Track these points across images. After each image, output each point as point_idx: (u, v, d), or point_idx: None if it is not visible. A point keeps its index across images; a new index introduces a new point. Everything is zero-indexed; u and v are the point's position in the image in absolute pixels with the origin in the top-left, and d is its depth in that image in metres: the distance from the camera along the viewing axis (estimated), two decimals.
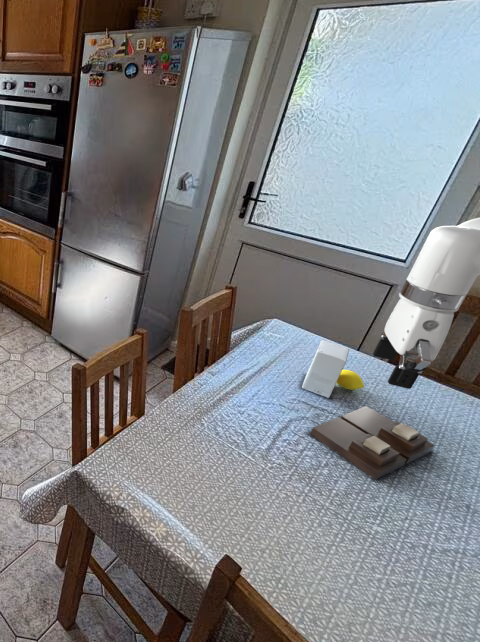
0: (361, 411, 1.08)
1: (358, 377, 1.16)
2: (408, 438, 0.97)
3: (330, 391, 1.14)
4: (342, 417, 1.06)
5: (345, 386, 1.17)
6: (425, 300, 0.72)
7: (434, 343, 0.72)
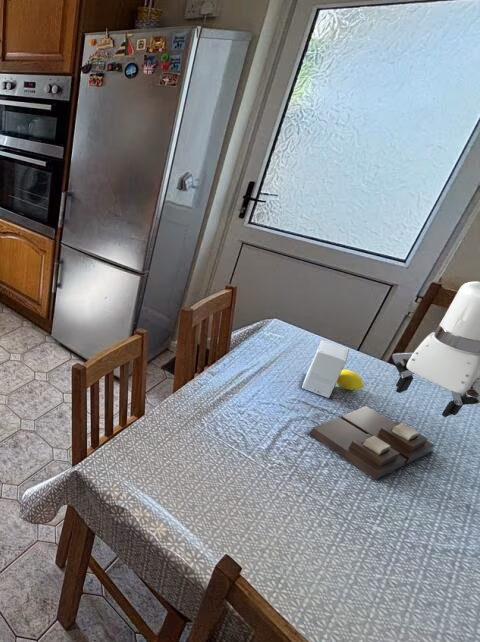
0: (361, 411, 1.08)
1: (358, 377, 1.16)
2: (408, 438, 0.97)
3: (330, 391, 1.14)
4: (342, 417, 1.06)
5: (345, 386, 1.17)
6: (478, 348, 0.84)
7: None
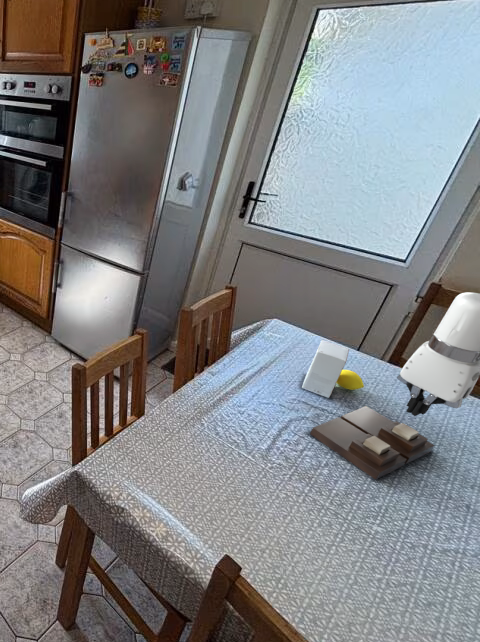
0: (361, 411, 1.08)
1: (358, 377, 1.16)
2: (408, 438, 0.97)
3: (330, 391, 1.14)
4: (342, 417, 1.06)
5: (345, 386, 1.17)
6: (471, 358, 0.85)
7: None
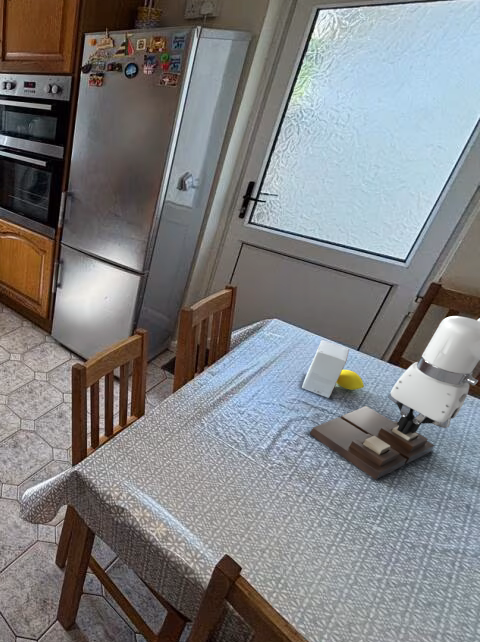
0: (361, 411, 1.08)
1: (358, 377, 1.16)
2: None
3: (330, 391, 1.14)
4: (342, 417, 1.06)
5: (345, 386, 1.17)
6: (458, 380, 0.87)
7: (460, 407, 0.90)
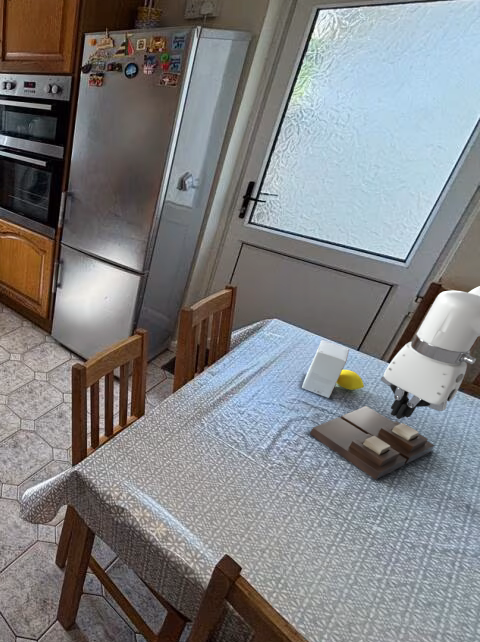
0: (361, 411, 1.08)
1: (358, 377, 1.16)
2: (408, 438, 0.97)
3: (330, 391, 1.14)
4: (342, 417, 1.06)
5: (345, 386, 1.17)
6: (454, 359, 0.81)
7: (457, 389, 0.84)
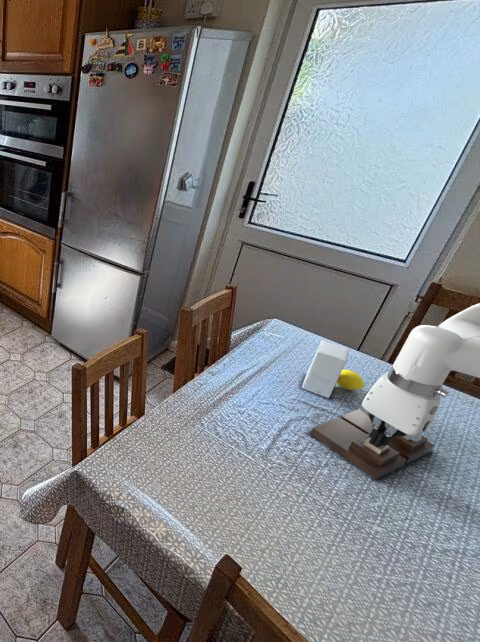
0: (361, 411, 1.08)
1: (358, 377, 1.16)
2: None
3: (330, 391, 1.14)
4: (342, 417, 1.06)
5: (345, 386, 1.17)
6: (428, 392, 0.84)
7: (431, 420, 0.86)
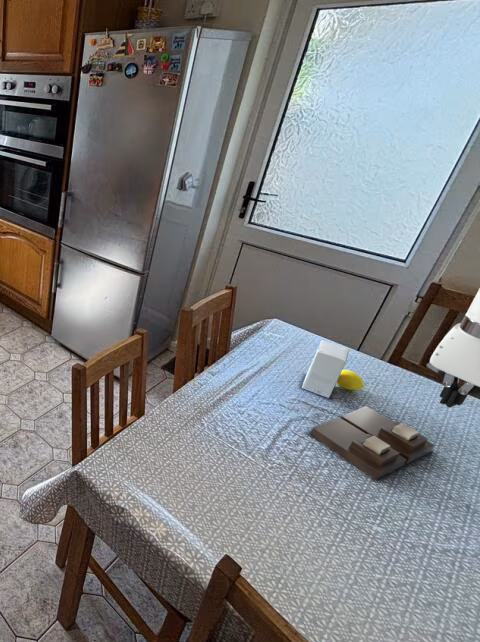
0: (361, 411, 1.08)
1: (358, 377, 1.16)
2: (408, 438, 0.97)
3: (330, 391, 1.14)
4: (342, 417, 1.06)
5: (345, 386, 1.17)
6: None
7: None
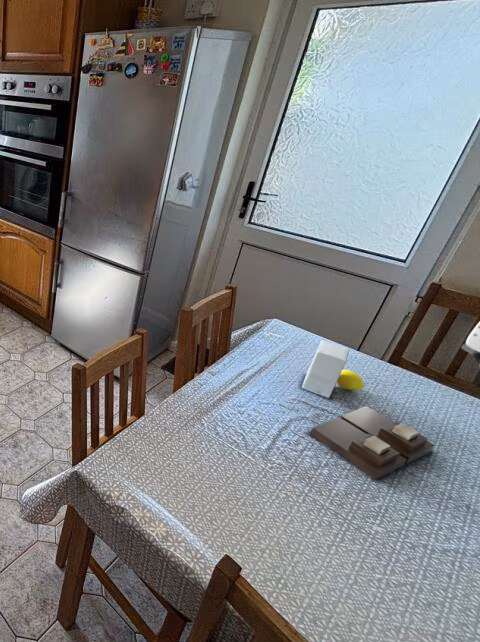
0: (361, 411, 1.08)
1: (358, 377, 1.16)
2: (408, 438, 0.97)
3: (330, 391, 1.14)
4: (342, 417, 1.06)
5: (345, 386, 1.17)
6: None
7: None
